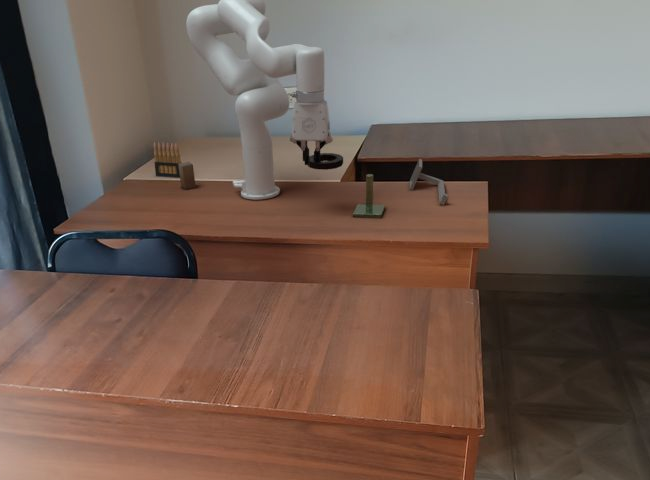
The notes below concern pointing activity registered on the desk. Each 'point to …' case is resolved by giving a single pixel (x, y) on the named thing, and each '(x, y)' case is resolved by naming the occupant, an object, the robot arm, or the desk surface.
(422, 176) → the toilet paper hanger
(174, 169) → the ammunition clip
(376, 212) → the post
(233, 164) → the desk surface
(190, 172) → the wooden block
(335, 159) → the black ring
